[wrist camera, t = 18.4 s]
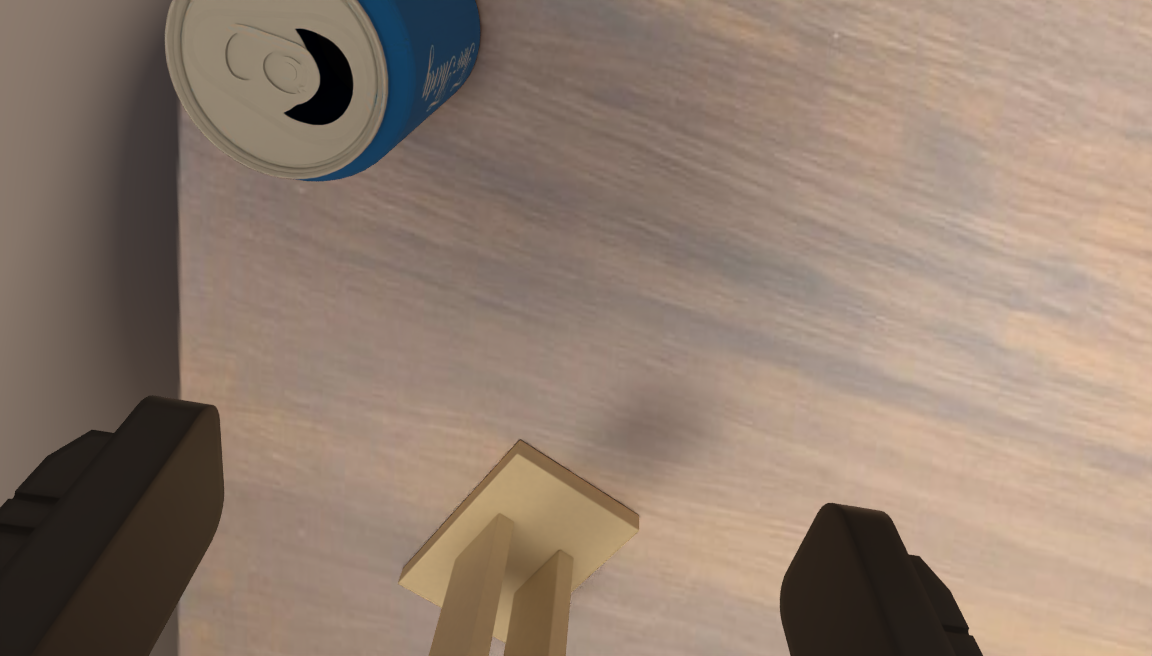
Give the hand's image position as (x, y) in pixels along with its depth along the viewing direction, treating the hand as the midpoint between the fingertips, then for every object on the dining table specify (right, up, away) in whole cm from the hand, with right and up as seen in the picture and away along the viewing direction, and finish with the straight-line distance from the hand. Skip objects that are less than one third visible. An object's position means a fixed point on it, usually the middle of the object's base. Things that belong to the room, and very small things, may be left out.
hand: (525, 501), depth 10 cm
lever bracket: (-3, -10, +32) cm, 33 cm away
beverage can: (-6, +14, +19) cm, 25 cm away
